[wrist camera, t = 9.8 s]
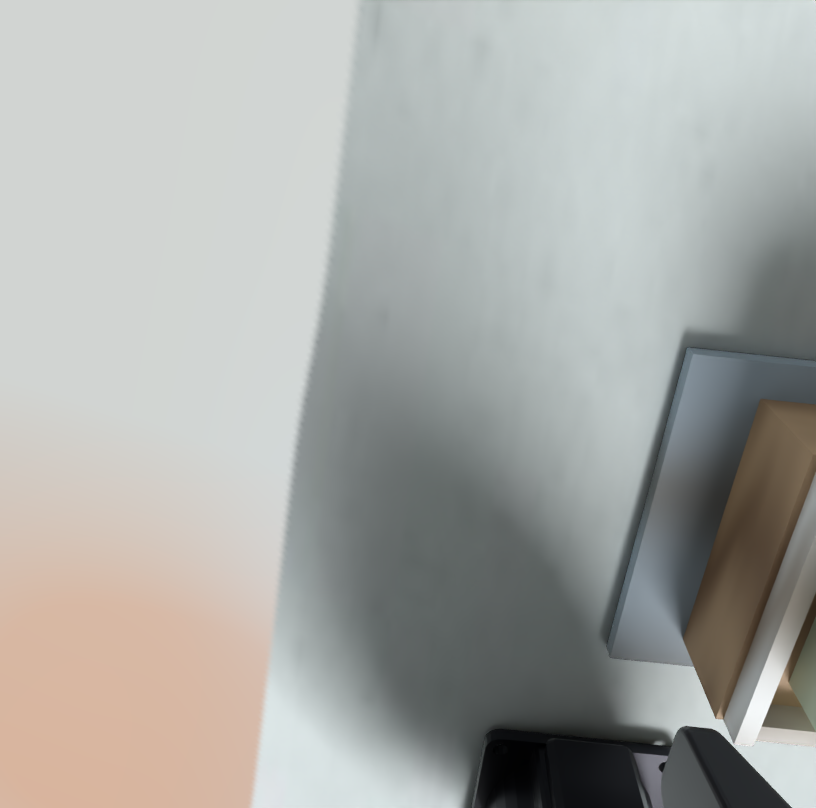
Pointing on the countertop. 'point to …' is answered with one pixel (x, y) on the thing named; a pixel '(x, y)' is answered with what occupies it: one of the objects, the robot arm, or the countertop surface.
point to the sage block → (806, 676)
